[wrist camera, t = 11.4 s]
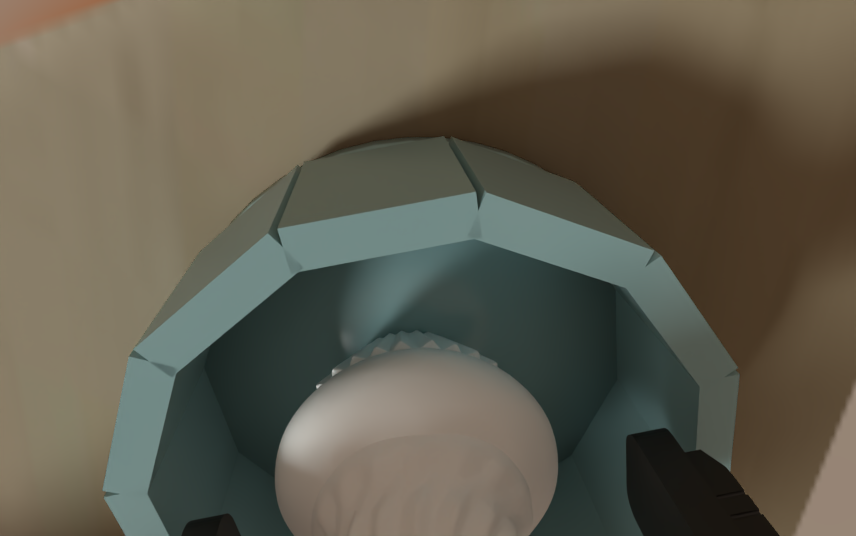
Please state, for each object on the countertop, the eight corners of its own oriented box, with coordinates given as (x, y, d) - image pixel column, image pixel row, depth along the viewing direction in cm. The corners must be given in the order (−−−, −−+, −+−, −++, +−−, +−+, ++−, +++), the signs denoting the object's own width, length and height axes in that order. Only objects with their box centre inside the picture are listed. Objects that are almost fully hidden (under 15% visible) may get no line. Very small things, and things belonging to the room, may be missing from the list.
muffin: (509, 458, 17) (592, 724, 11) (304, 470, 16) (263, 759, 10) (528, 274, 14) (651, 483, 8) (284, 280, 14) (214, 511, 8)
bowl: (264, 547, 19) (231, 718, 14) (112, 189, 13) (-20, 283, 9) (632, 475, 19) (715, 621, 14) (632, 93, 14) (763, 138, 9)
